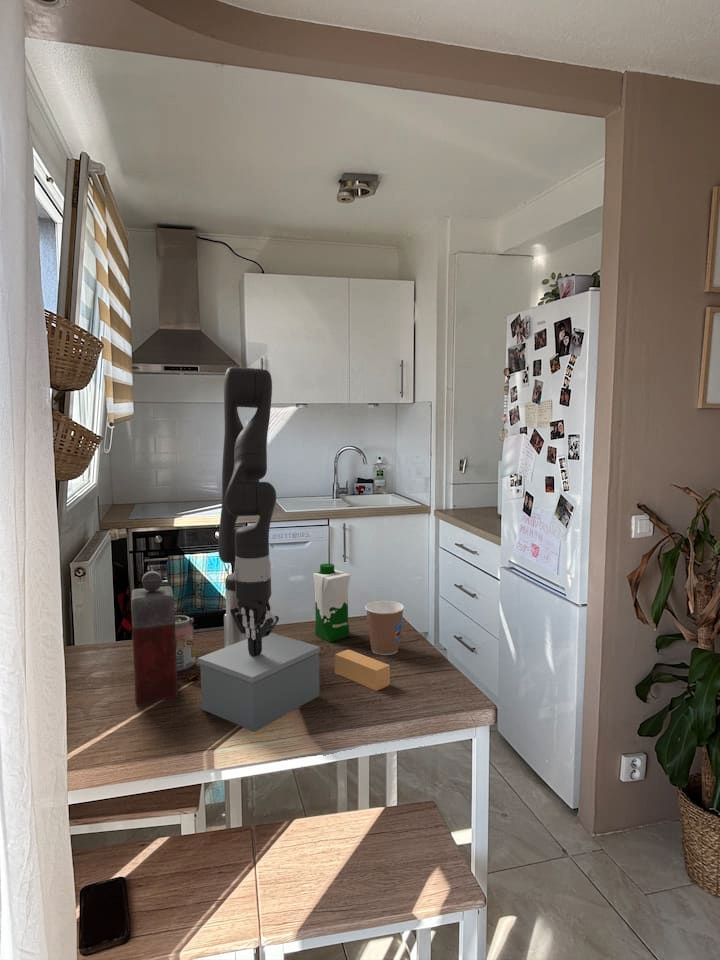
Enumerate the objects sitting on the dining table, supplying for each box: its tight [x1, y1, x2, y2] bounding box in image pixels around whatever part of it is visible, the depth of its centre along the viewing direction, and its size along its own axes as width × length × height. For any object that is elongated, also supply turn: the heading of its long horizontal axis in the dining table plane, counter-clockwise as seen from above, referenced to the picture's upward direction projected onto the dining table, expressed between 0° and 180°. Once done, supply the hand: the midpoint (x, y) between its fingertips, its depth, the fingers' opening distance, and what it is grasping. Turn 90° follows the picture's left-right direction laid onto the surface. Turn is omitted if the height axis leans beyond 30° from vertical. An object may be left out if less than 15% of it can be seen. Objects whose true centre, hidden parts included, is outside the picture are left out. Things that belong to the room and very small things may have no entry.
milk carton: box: [312, 563, 352, 643], centre depth 182 cm, size 9×9×20 cm
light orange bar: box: [334, 649, 391, 692], centre depth 155 cm, size 14×4×5 cm, turn 44°
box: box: [199, 652, 320, 732], centre depth 142 cm, size 16×20×10 cm
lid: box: [197, 632, 321, 683], centre depth 141 cm, size 17×20×1 cm
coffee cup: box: [364, 600, 405, 656], centre depth 172 cm, size 10×10×12 cm
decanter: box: [130, 570, 179, 704], centre depth 148 cm, size 9×11×28 cm
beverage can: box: [175, 614, 196, 672], centre depth 163 cm, size 9×8×12 cm
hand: (255, 654), depth 140 cm, fingers closed
